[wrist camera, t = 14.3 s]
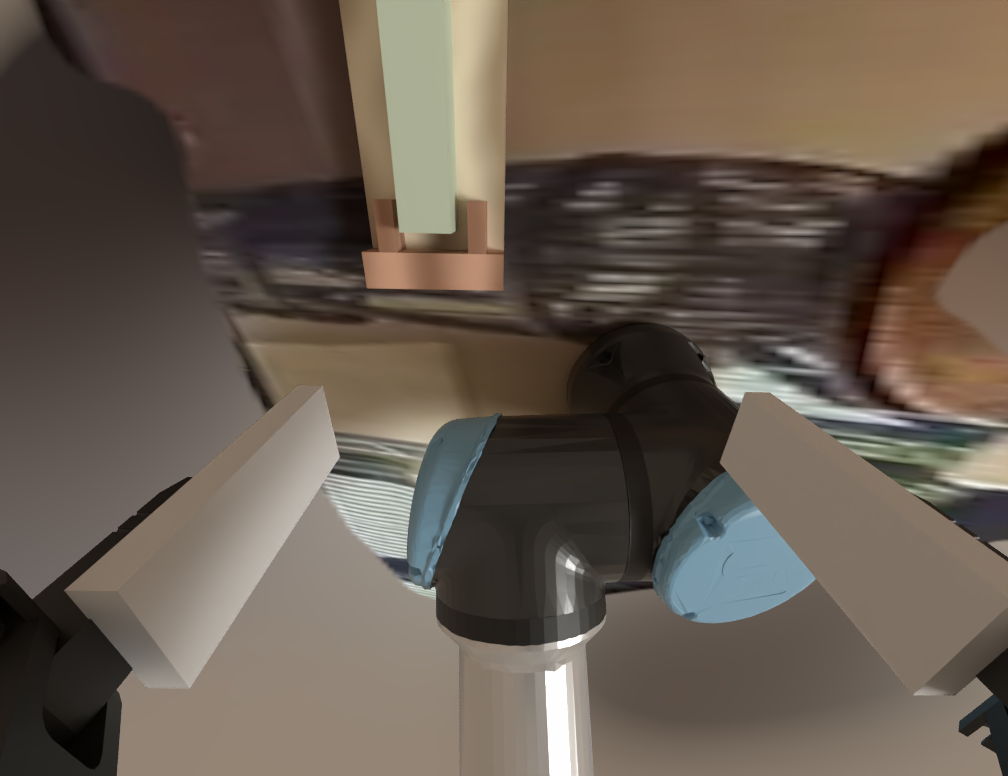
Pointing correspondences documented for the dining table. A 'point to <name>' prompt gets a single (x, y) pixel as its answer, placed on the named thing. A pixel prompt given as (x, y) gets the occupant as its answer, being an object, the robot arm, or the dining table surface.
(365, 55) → the slat cradle
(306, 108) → the dining table surface
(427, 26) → the slat
